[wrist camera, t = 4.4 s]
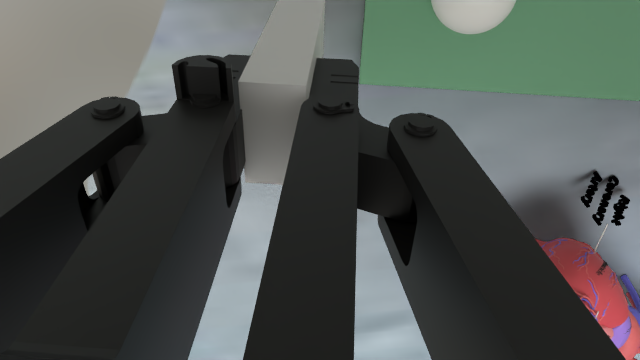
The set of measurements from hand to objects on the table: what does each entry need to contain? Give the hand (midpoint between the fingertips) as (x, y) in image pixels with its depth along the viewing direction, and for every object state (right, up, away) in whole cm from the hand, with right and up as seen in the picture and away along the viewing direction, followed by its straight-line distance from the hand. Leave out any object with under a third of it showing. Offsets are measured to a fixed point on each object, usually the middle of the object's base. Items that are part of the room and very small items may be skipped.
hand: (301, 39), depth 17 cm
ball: (+8, +4, +7) cm, 11 cm away
